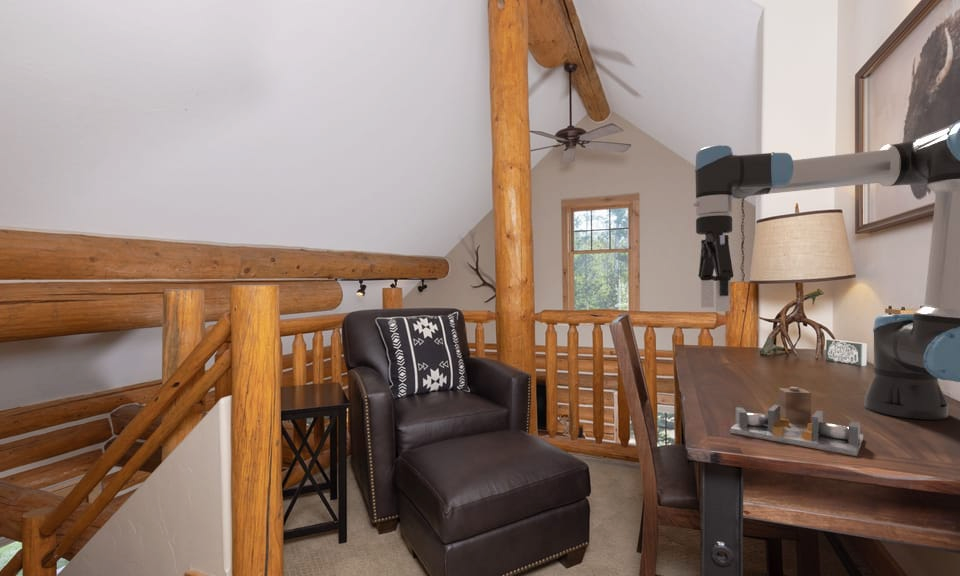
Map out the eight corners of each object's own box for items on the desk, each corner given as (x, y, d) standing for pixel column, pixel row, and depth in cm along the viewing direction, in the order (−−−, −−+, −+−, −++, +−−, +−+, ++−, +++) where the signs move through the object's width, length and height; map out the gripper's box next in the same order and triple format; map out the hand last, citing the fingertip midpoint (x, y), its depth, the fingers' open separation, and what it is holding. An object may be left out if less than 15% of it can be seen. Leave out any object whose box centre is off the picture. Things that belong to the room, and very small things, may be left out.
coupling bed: (863, 439, 98) (863, 413, 98) (857, 456, 89) (857, 427, 89) (745, 420, 112) (745, 397, 112) (730, 432, 103) (730, 408, 103)
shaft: (766, 424, 106) (766, 409, 106) (771, 429, 102) (771, 414, 102) (735, 422, 108) (735, 407, 108) (739, 427, 104) (739, 412, 104)
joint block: (803, 419, 112) (803, 386, 112) (810, 424, 108) (811, 390, 108) (778, 418, 113) (778, 385, 113) (785, 423, 109) (785, 389, 109)
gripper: (685, 222, 127) (686, 305, 127) (709, 209, 102) (710, 313, 103) (717, 221, 125) (717, 305, 126) (749, 208, 101) (750, 313, 101)
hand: (714, 309), depth 114 cm, fingers open, 13 cm apart
